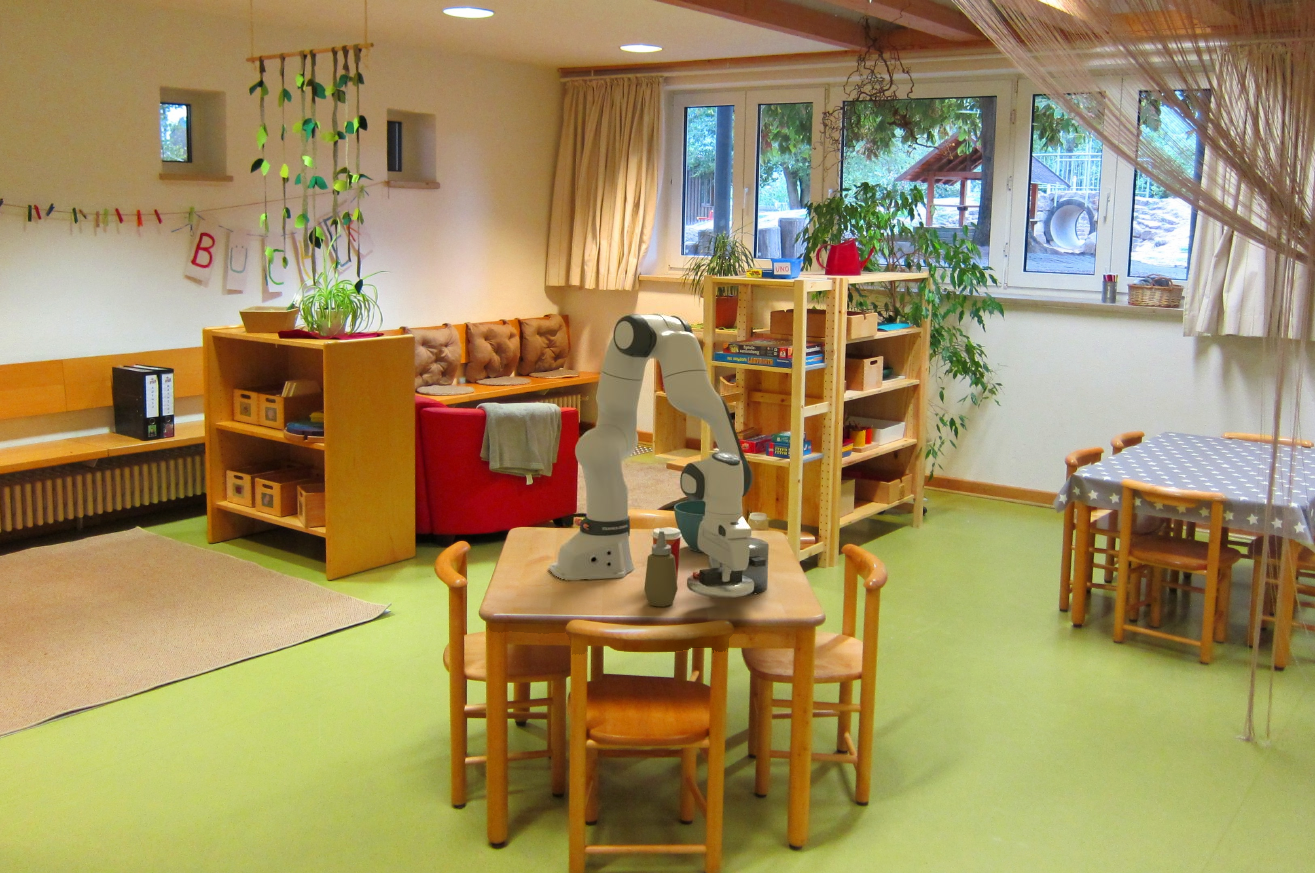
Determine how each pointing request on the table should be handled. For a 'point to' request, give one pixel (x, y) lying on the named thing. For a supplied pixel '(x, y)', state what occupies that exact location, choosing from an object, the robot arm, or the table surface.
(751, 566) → the pot
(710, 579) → the lid
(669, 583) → the squeeze bottle
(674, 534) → the paper cup
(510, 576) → the table surface
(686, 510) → the teal bowl
